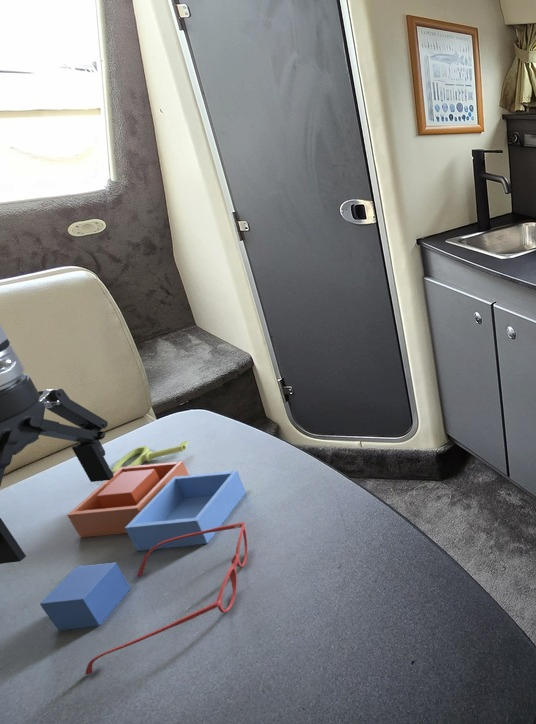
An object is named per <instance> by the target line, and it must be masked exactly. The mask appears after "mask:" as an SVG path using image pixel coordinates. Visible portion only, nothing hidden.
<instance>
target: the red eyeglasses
mask: <svg viewBox="0 0 536 724" xmlns="http://www.w3.org/2000/svg"><path fill="white" fill-rule="evenodd" d="M233 529H240V532H239V536H238V540H237V544H236V550H235V553H234V555H233V558H232V559H231V566H230V567H229V568H228V570H227V573H226V575H225V577H224V580H223V582H222V585H221V587H220V590H219V592H218V595H217V598H216V600H215V602H213V603H211V604H209V605H207V606H204V607H203V608H200V609H199V610H197V611H194V612H192V613H190V614H188V615H186V616H184V617H182V618H180V619H177V620H176V621H174V622H172V623H170V624H168V625H165V626H163V627H161V628H158V629H156V630H154V631H152V632H149V633H147V634H145V635H143V636H140V637H138V638H135V639H134V640H132V641H128V642H126V643H124V644H122V645H119V646H116V647H114V648H112V649H109V650H107V651H105V652H102V653H101V654H98V655H96V656H95V657H93V658H92V659H91V660H90V661H89V662H88V663H87V666H86V669H85V672H84V674H85V675H90V674H93V670H94V669H93V664H94V663H95V661H97V660H98V659H100V658H102V657H104V656H106V655H108V654H110V653H111V654H112V653H113V652H116V651H119V650H121V649H124V648H126V647H129V646H132V645H134V644H136V643H137V644H138V643H139V642H142V641H143V640H146V639H149V638H150V637H153V636H155V635H157V634H160V633H162V632H165V631H167V630H169V629H172V628H174V627H177V626H179V625H181V624H184V623H186V622H188V621H191V620H192V619H193V620H194V619H195V618H197V617H199V616H201V615H203V614H206V613H208V612H210V611H212V610H214V609H218V610H219V612H220V613H223V614H224V613H228V612H229V611H230V610H231V608H232V607H233V605H234V603H235V600H236V596H237V595H236V594H237V587H238V586H237V585H238V578H237V577H238V576H237V569H236V568H237V567H239V568H243V567H244V566H245V565H246V563H247V559H248V538H247V531H246V523H245V522H244V521H242V522H237V523H231V524H226V525H221V526H220V527H217V528H213V529H209V530H205V531H200V532H196V533H191V534H187V535H183V536H179V537H175V538H171V539H168V540H165V541H163V542H161V543H159V544H157V545H156V546H154V547H153V548H152V549H150V550H147V553H146V554H145V555H144V557H143V559H142V561H141V563H140V566H139V568H138V571H137V573H136V577H141V576H142V575H143V574H144V572H145V568H146V565H147V561H148V559H149V556H150V555H151V554H152V552H154V551H155V550H156V549H155V548H157V547H158V546H160V545H162V544H164V543H167V542H170V541H174V540H178V539H182V538H186V537H190V536H195V535H200V534H205V533H210V532H216V533H217V532H221V531H227V530H228V531H229V530H233ZM242 538H243V542H244V543H243V545H244V554H243V555H244V556H243V561H242V563H241V561H240V549H241V542H242ZM228 579H229V580H230V583H231V588H232V596H231V600H230V603H229V605H228V606H227V607H226V609H225V608H224V606H223V595H224V591H225V588H226V585H227V582H228Z"/></svg>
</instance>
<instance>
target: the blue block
mask: <svg viewBox="0 0 536 724" xmlns="http://www.w3.org/2000/svg"><path fill="white" fill-rule="evenodd" d="M131 589H132V588H131V586H130V584H129V583H128V581H127V579H126V578H125V576H124V574H123V572H122V570H121V569H120V566H119V565H118V564H117V562H109V563H98V564H90V565H79V566H75V567H74V568H73V569H72V570H71V571H70V572H69V573H68V574H67V575H66V576H65V577H64V578H63V580H61V581H60V582H59V583H58V585H57V586H56V587H54V589H53V590H51V591H50V593H48V595H46V597H45V598H44V599H43V600H42V601H40V603H39V605H40V607H41V609H43V611H44V613H45V614H46V616H47V617H48V618H49V620H50V621H51V623H52V624H53V625H54V627H55V629H56V630H57V631H66V630H75V629H84V628H85V629H86V628H91V627H92V628H93V627H94V628H95V627H100V626H101V625H102V624H103V623H104V621H105V620H106V619H107V618H108V617H109V616H110V614H111V613H112V612H113V611H114V610H115V608H116V607H117V606H118V605H119V604H120V602H121V601H122V599H124V597H126V595H127V594H128V593H129V591H130V590H131Z"/></svg>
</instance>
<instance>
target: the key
mask: <svg viewBox="0 0 536 724" xmlns="http://www.w3.org/2000/svg"><path fill="white" fill-rule="evenodd" d="M189 443H190V441H189V440H186V441H181V443H180V444H179V445H177V446H173V447H169V448H165V449H160V450H157V451H151V450H150V448H149V447H148V446H146V445H142V446H141V445H140V446H138V447H136V448H134V449H132V450H130V451H129V452H128V453H126V454H125V455H124V456H122V457H121V458H120V459H119V460H118V461H117V462H116V464H115V465H113V467H112V470H111V472H112V473H113V474H114V473H115V472H116V471H117V470H118V469H119V468H120V467H123V465H124V464H125V463H126V462H127V461H129V460H130V459H132V458H133V457H135V456H136V455H138V457H137V458H136V459H135V460H134V461H133V462H131V463H129V464H128V465H127V466H137V465H143V464H144V462H145V461H146V462H151V461H153V459H156V458H161V457H164V456H168V455H173V454H177V453H181V452H184V451H186V450H187V446H188V444H189ZM139 454H140V455H139Z"/></svg>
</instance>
